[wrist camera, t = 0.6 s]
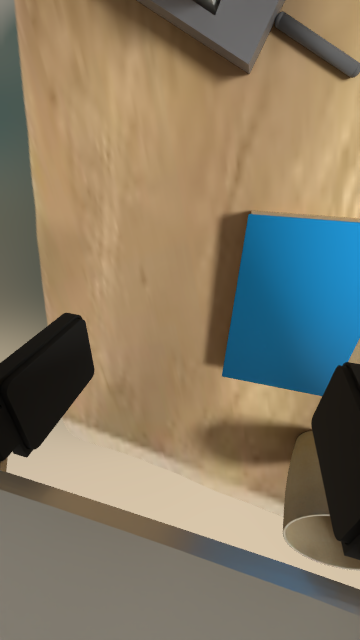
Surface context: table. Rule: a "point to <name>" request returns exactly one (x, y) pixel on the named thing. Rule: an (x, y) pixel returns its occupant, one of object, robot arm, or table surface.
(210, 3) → the charger plug
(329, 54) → the power strip
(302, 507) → the plant pot
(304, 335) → the book
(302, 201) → the table surface
